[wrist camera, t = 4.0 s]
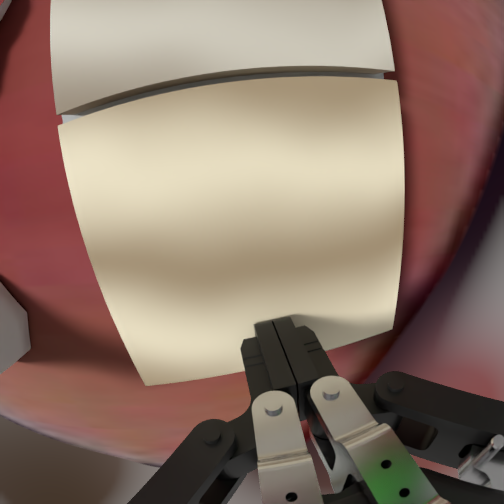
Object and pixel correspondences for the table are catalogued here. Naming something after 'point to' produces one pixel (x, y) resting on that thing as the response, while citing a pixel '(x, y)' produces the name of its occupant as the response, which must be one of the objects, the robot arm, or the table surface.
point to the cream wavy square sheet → (241, 215)
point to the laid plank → (205, 43)
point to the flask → (12, 330)
